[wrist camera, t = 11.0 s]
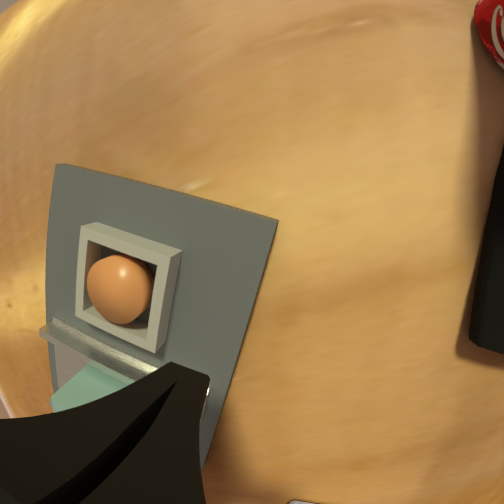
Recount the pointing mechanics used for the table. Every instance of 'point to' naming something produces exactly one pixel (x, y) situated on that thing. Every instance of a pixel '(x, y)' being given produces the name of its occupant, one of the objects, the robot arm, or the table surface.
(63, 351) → the metal rail
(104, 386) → the block
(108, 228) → the button housing
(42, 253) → the table surface
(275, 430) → the table surface
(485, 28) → the soda can
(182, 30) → the table surface
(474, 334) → the black tray
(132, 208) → the holder board
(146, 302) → the button
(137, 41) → the table surface
